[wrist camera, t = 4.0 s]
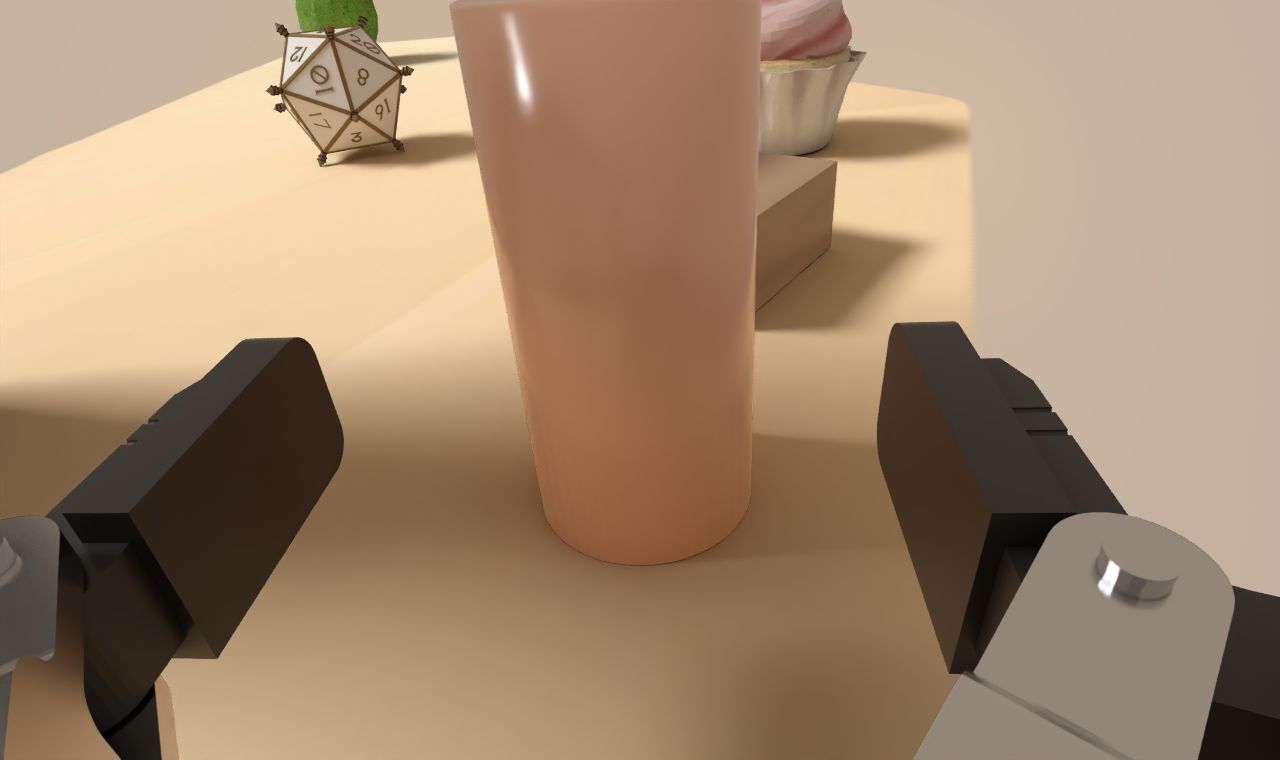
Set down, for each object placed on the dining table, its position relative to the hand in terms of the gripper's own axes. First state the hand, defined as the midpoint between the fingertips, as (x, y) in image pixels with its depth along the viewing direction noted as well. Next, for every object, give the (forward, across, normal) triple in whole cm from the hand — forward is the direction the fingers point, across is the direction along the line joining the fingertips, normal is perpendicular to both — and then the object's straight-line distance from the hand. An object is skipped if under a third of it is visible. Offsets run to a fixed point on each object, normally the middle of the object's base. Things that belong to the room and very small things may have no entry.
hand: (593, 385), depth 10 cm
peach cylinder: (+5, 0, +7) cm, 8 cm away
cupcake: (+36, -6, +7) cm, 37 cm away
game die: (+38, +21, +7) cm, 44 cm away
